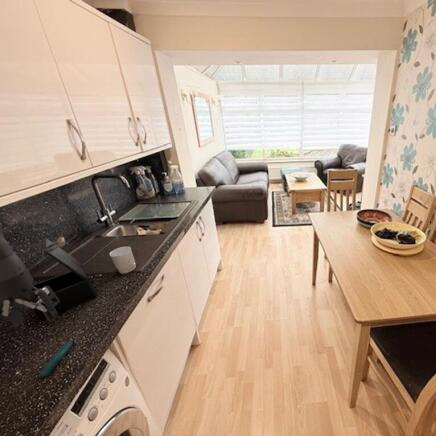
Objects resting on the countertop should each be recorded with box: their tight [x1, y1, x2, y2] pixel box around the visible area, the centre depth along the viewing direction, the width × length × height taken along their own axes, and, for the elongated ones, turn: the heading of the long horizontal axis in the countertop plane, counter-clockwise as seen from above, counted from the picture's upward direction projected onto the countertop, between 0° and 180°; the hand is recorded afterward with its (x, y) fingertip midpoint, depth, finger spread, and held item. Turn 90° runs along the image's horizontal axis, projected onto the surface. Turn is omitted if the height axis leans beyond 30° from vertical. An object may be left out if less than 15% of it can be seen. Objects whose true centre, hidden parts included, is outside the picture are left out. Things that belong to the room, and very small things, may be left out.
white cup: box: [109, 246, 137, 274], centre depth 107 cm, size 8×8×10 cm
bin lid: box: [43, 236, 87, 280], centre depth 89 cm, size 16×13×5 cm
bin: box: [32, 270, 96, 322], centre depth 90 cm, size 16×13×9 cm
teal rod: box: [39, 341, 74, 378], centre depth 69 cm, size 10×2×2 cm, turn 6°
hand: (37, 320), depth 65 cm, fingers open, 8 cm apart
